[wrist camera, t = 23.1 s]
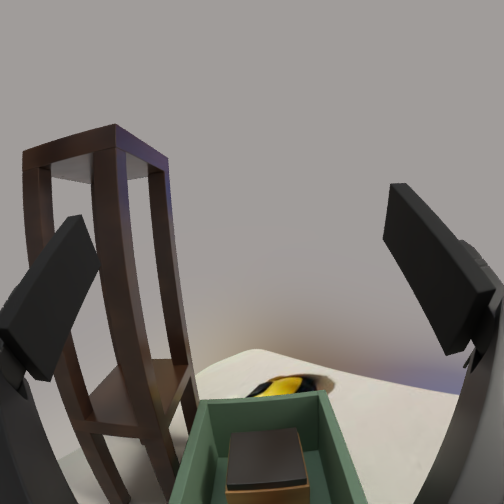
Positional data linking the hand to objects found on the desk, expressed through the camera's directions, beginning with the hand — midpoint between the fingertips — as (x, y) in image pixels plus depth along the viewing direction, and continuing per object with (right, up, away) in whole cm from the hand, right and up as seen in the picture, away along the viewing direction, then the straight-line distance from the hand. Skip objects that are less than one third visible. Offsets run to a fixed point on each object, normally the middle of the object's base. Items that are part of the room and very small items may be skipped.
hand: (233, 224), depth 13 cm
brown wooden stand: (-8, -23, +13) cm, 28 cm away
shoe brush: (+2, -22, +4) cm, 23 cm away
